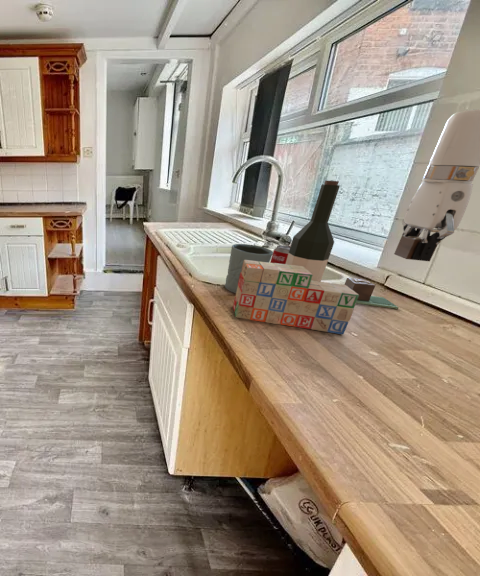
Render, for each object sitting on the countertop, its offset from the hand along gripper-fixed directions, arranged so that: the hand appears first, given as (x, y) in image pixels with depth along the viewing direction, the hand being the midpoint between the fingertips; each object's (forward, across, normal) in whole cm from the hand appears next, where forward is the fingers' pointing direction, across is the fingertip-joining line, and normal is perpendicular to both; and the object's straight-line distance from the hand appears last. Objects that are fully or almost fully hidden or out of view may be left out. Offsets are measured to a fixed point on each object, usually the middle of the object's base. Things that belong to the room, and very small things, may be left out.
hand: (412, 256), depth 73 cm
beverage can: (+14, +7, +25) cm, 29 cm away
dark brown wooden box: (0, 0, 0) cm, 0 cm away
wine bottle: (+14, -3, +23) cm, 27 cm away
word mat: (+14, +5, +2) cm, 15 cm away
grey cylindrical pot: (+14, +1, +35) cm, 38 cm away
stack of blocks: (+14, -16, +29) cm, 36 cm away
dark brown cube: (+14, +6, +5) cm, 16 cm away
